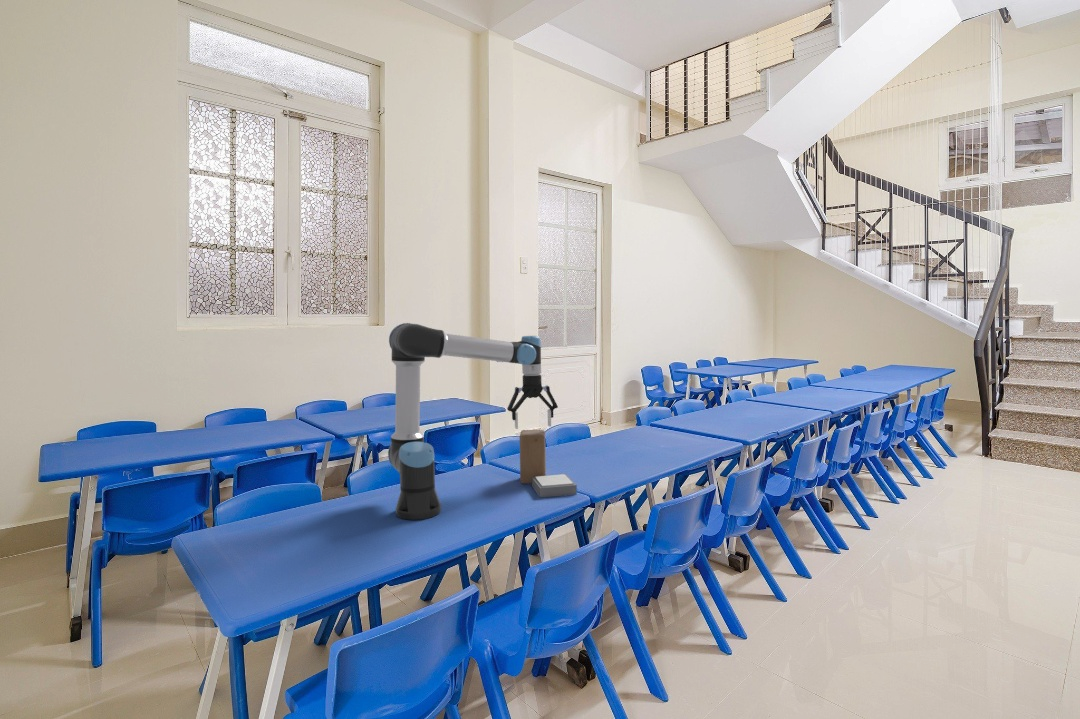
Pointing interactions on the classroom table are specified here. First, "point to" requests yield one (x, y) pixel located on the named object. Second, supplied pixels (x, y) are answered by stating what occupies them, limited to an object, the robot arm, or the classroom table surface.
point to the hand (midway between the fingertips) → (533, 427)
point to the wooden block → (532, 455)
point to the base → (554, 485)
